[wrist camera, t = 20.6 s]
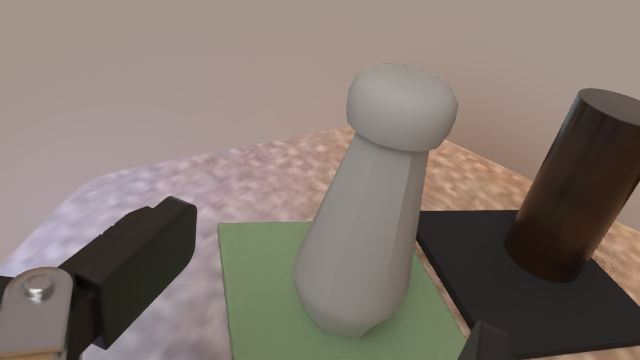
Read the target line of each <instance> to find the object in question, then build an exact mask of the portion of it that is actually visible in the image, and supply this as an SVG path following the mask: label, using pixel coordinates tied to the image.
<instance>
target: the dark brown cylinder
mask: <svg viewBox="0 0 640 360" xmlns="http://www.w3.org/2000/svg"><path fill="white" fill-rule="evenodd" d="M639 182H640V101H639V100H637V99H634V98H631V97H629V96H626V95H623V94H619V93H616V92H612V91H607V90H601V89H592V88H587V89H582V90H580V91H579V92H578V94H577V96H576V98H575V100H574V102H573V104H572V106H571V108H570V110H569V112H568V114H567V116H566V118H565V120H564V122H563V124H562V126H561V128H560V130H559V132H558V134H557V136H556V138H555V140H554V142H553V144H552V146H551V148H550V150H549V152H548V154H547V156H546V158H545V160H544V162H543V164H542V166H541V168H540V170H539V172H538V174H537V176H536V178H535V180H534V182H533V184H532V186H531V188H530V190H529V192H528V194H527V196H526V198H525V200H524V202H523V204H522V206H521V207H520V209H519V211H518V213H517V215H516V217H515V219H514V221H513V223H512V225H511V227H510V229H509V231H508V233H507V235H506V237H505V240H504V246H505V249H506V251H507V253H508V255H509V256H510V257H511V258H512V260H513V261H514V262H515V263H516V264H518V265H519V266H520V267H521V268H523V269H524V270H526V271H527V272H529V273H531V274H533V275H535V276H537V277H539V278H542V279H544V280H548V281H552V282H558V283H567V282H571V281H573V280H575V279H577V278H578V276H579V275H580V273H581V272H582V270H583V268H584V267H585V265H586V264H587V262H588V261H589V259H590V258H591V256H592V255H593V253H594V251H595V250H596V248H597V247H598V245H599V244H600V242H601V241H602V239H603V237H604V236H605V234H606V233H607V231H608V230H609V228H610V227H611V225H612V223H613V222H614V220H615V219H616V217H617V216H618V214H619V213H620V211H621V210H622V208H623V206H624V205H625V203H626V202H627V200H628V198H629V197H630V195H631V194H632V192H633V191H634V189H635V188H636V186H637V185H638V183H639Z"/></svg>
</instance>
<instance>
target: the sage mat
mask: <svg viewBox="0 0 640 360" xmlns="http://www.w3.org/2000/svg"><path fill="white" fill-rule="evenodd" d="M311 223H312V222H269V223H219V224H218V229H217V231H218V240H219V248H220V257H221V265H222V274H223V282H224V291H225V299H226V308H227V316H228V325H229V334H230V342H231V351H232V359H233V360H457V359H458V357H459V355H460V353H461V351H462V349H463V347H464V345H465V344H466V342H467V340H466V338H465V337H464V335H463V333H462V331H461V330H460V328H459V326H458V325H457V323H456V321H455V319H454V318H453V316H452V314H451V312H450V311H449V309H448V307H447V306H446V304H445V302H444V300H443V299H442V297H441V295H440V293H439V292H438V290H437V288H436V287H435V285H434V283H433V281H432V280H431V278H430V276H429V274H428V273H427V271H426V269H425V268H424V266H423V264H422V262H421V261H420V259H419V257H418V255H417V254H416V252H415V250H414V254H413V260H412V267H411V274H410V280H409V287H408V292H407V294H406V296H405V297H404V299H403V301H402V303H401V305H400V306H399V308H398V310H397V311H396V313H395V315H393V316H391V317H390V318H388V319H386V320H384V321H383V322H381V323H379V324H377V325H376V326H374V327H372V328H370V329H369V330H368V331H367V332H366V333H365V334H364V335H362V336H361V337H360V338H359V339H357V338H351V337H345V336H338V335H332V334H326V333H322V332H321V330H320V329H319V328H318V327H317V325H316V324H315V323H314V322H313V320H312V319H311V318H310V317H309V315H308V314H307V313H306V312H305V310H304V309H303V308H302V305H301V302H300V299H299V297H298V294H297V291H296V288H295V285H294V282H293V269H294V262H295V256H296V253H297V251H298V249H299V247H300V245H301V243H302V241H303V239H304V237H305V235H306V233H307V231H308V229H309V227H310V225H311Z"/></svg>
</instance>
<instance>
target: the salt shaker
mask: <svg viewBox="0 0 640 360" xmlns="http://www.w3.org/2000/svg"><path fill="white" fill-rule="evenodd" d="M457 108H458V102H457V100H456V98H455V96H454V94H453V92H452V90H451V88H450V86H449V84H447V83H446V82H444V81H443V80H442V79H440V78H439V77H437V76H435V75H433V74H430V73H428V72H426V71H424V70H421V69H418V68H414V67H410V66H406V65H399V64H390V63H382V64H373V65H371V66H369V67H368V68H366V69H364V70H362V71H361V72H359V73H358V74H356V75H355V77H354V79H353V81H352V84H351V87H350V89H349V93H348V99H347V112H346V115H347V122H348V123H349V124H350V125H351V126H352V128H353V129H354V130H355V131H356V133H355V135H354V137H353V139H352V141H351V144H350V146H349V148H348V150H347V152H346V154H345V156H344V158H343V160H342V162H341V164H340V166H339V168H338V170H337V172H336V174H335V176H334V178H333V180H332V182H331V184H330V186H329V188H328V190H327V192H326V194H325V196H324V198H323V200H322V202H321V204H320V206H319V208H318V210H317V213H316V215H315V217H314V219H313V221H312V223H311V225H310V227H309V229H308V231H307V233H306V235H305V237H304V239H303V241H302V243H301V245H300V247H299V249H298V251H297V253H296V256H295V262H294V269H293V282H294V285H295V288H296V291H297V294H298V297H299V299H300V302H301V305H302V308H303V309H304V310H305V312H306V313H307V314H308V315H309V317H310V318H311V319H312V320H313V322H314V323H315V324H316V325H317V327H318V328H319V329H320V330H321V332H322V333H326V334H332V335H338V336H345V337H351V338H357V339H359V338H360V337H361V336H362V335H364V334H365V333H366V332H367V331H368V330H369V329H370V328H372V327H374V326H376V325H377V324H379V323H381V322H383V321H384V320H386V319H388V318H390V317H391V316H393V315H395V313H396V311H397V310H398V308H399V306H400V305H401V303H402V301H403V299H404V297H405V296H406V294H407V292H408V287H409V280H410V274H411V267H412V260H413V254H414V247H415V240H416V234H417V227H418V220H419V214H420V207H421V200H422V194H423V187H424V180H425V174H426V167H427V161H428V154H429V150H432V149H436V148H438V147H439V146H440V144H441V143H442V142H443V141H444V140H445V138H446V137H447V136H448V135H449V133H450V131H451V129H452V126H453V124H454V122H455V119H456V113H457Z"/></svg>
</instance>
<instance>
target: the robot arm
mask: <svg viewBox="0 0 640 360" xmlns="http://www.w3.org/2000/svg"><path fill="white" fill-rule="evenodd" d="M196 222H197V208H196V206H195V205H193V204H190V203H188V202H185V201H183V200H180V199H178V198H175V197H173V196H169V197H167V198H166V199H164V200H163V201H162V202H161V203H159V204H158V205H157V206H156V207H154V208H151V207H148V206H146V207H143V208H141V209H138V210H135V211H133V212H130V213H128V214H127V215H125V216H124V217H123V218H121V219H120V220H119V221H118V222H116V223H115V225H114V226H111V227H110V228H108V229H107V230H106V231H104V232H103V235H101V234H100V235H99V236H98V237H97V238H95V239H94V240H93V241H91V242H90V243H89V244H87V245H86V246H85V247H83V248H82V249H81V250H80V251H78V252H77V253H76V254H74V255H73V256H72V257H70V258H69V259H68V260H66V261H65V262H64V263H62V264H61V265H60V266H58V267H57V268H55V267H39V268H35V269H31V270H28V271H25V272H23V273H21V274H20V275H18V276H16V277H15V278H13V277H5V276H0V360H82V352H83V351H84V350H85V349H86V348H87V347H88V346H89V345H90V344H91V343H92V344H94V345H96V346H98V347H100V348H102V349H104V350H107V349H108V348H109V347H110V346H111V345H112V344H113V343H114V342H115V341H116V340H117V339H118V338H119V336H120V335H121V334H122V333H123V332H124V331H125V330H126V329H127V328H128V327H129V326H130V325H131V324H132V323H133V322H134V321H135V320H136V319H137V318H138V317H139V316H140V314H141V313H142V312H143V311H144V310H145V309H146V308H147V307H148V306H149V305H150V304H151V303H152V302H153V301H154V300H155V299H156V298H157V297H158V296H159V295H160V294H161V293H162V291H163V290H164V289H165V288H166V287H167V286H168V285H169V284H170V283H171V282H172V281H173V280H174V279H175V278H176V277H177V276H178V275H179V274H180V273H181V272H182V271H183V269H184V268H185V267H186V266H187V265H188V263H189V262H190V260H191V258H192V256H193V253H194V250H195V241H196ZM509 349H510V333H509V332H508V331H506V330H503V329H501V328H498V327H496V326H493V325H491V324H488V323H486V322H483V321H481V320H479V321H478V322H477V323H476V325H475V326H474V328H473V330H472V332H471V334H470V336H469V338H468V340H467V342H466V344H465V345H464V347H463V349H462V351H461V353H460V355H459V357H458V359H457V360H520V359H517V358H515V357H512V356H510V355H509Z"/></svg>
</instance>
